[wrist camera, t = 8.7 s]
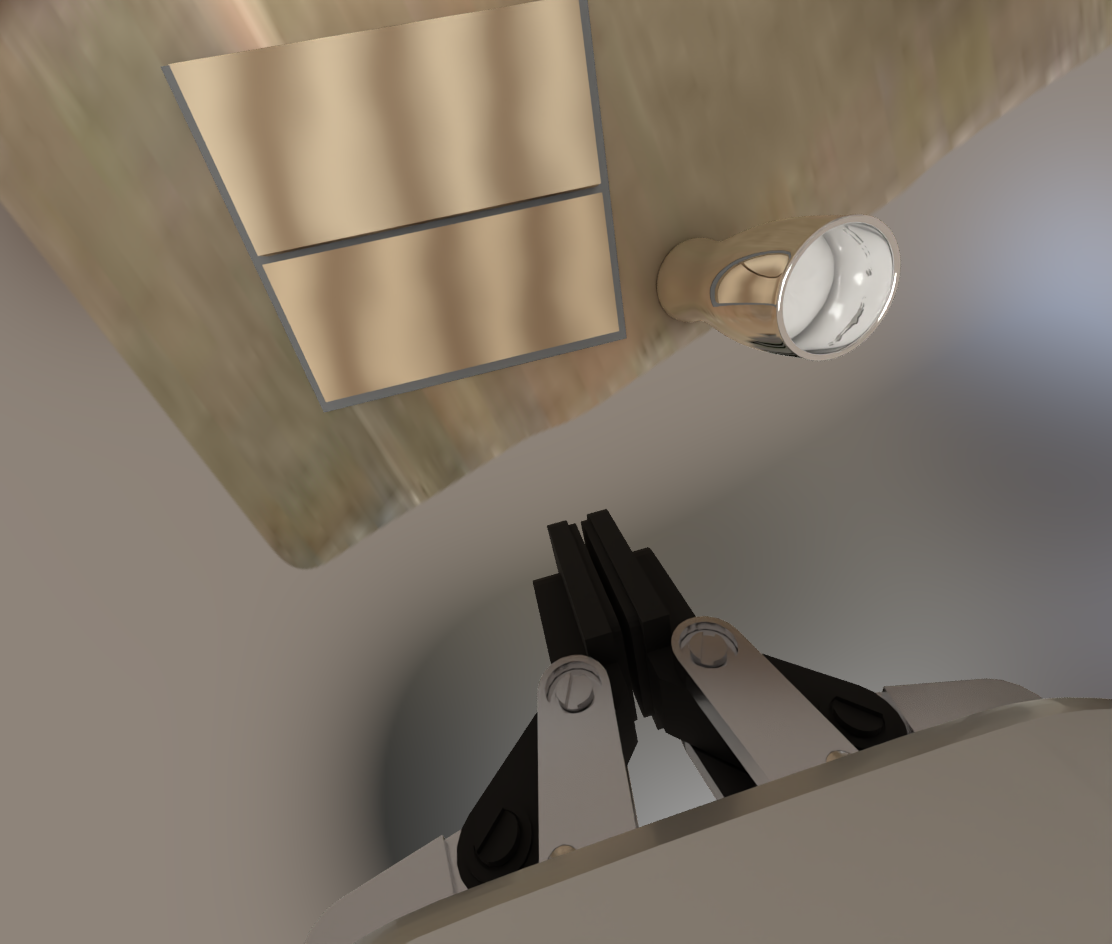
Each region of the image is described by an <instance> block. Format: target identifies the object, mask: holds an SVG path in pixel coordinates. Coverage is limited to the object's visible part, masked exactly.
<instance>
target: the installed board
mask: <svg viewBox="0 0 1112 944" xmlns="http://www.w3.org/2000/svg"><path fill="white" fill-rule="evenodd" d="M169 66H170V68H171V70H172V72H173V74H174V77H175V79H176V81H177V83H178V85H179V87H180V90H181V92H182V94H183V96H184V98H185V100H186V102H187V105H188V107H189V109H190V111H191V113H192V115H193V117H194V120H195V122H196V124H197V126H198V128H199V130H200V133H201V135H202V137H203V139H204V141H205V143H206V145H207V148H208V150H209V152H210V154H211V156H212V158H213V160H214V163H215V165H216V167H217V169H218V171H219V173H220V176H221V178H222V180H223V182H224V184H225V186H226V188H227V191H228V193H229V195H230V197H231V199H232V201H233V203H234V206H235V208H236V210H237V212H238V214H239V216H240V219H241V221H242V223H243V225H244V227H245V229H246V231H247V234H248V236H249V238H250V240H251V242H252V244H253V246H254V249H255V251H256V253H257V255H258V256H272V255H277V254H281V253H286V252H291V251H295V250H300V249H305V248H310V247H314V246H319V245H324V244H328V243H333V242H338V241H343V240H347V239H352V238H357V237H361V236H366V235H371V234H376V233H380V232H385V231H390V230H394V229H399V228H404V227H409V226H413V225H418V224H423V223H427V222H432V221H437V220H442V219H446V218H451V217H456V216H460V215H465V214H470V213H475V212H479V211H484V210H489V209H493V208H498V207H503V206H508V205H512V204H517V203H522V202H526V201H531V200H536V199H541V198H545V197H550V196H555V195H559V194H564V193H569V192H574V191H578V190H583V189H588V188H592V187H596V186H597V185H599V184H601V179H600V171H599V162H598V154H597V146H596V138H595V130H594V122H593V113H592V105H591V97H590V89H589V81H588V73H587V65H586V56H585V48H584V40H583V32H582V24H581V16H580V8H579V0H541V1H535V2H529V3H523V4H517V5H512V6H506V7H500V8H494V9H488V10H482V11H477V12H471V13H465V14H459V15H453V16H447V17H442V18H436V19H430V20H424V21H418V22H412V23H407V24H401V25H395V26H389V27H383V28H377V29H372V30H366V31H360V32H354V33H348V34H342V35H337V36H331V37H325V38H319V39H313V40H307V41H302V42H296V43H290V44H284V45H278V46H272V47H267V48H261V49H255V50H249V51H243V52H237V53H232V54H226V55H220V56H214V57H208V58H202V59H196V60H191V61H185V62H179V63H173V64H169Z"/></svg>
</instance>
